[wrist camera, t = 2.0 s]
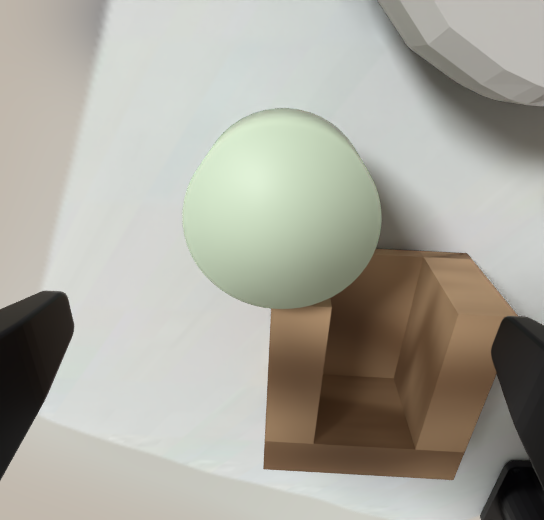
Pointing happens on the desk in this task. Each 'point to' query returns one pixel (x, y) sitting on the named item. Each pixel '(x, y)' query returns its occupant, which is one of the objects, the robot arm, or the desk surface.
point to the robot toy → (478, 43)
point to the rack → (384, 369)
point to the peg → (282, 211)
